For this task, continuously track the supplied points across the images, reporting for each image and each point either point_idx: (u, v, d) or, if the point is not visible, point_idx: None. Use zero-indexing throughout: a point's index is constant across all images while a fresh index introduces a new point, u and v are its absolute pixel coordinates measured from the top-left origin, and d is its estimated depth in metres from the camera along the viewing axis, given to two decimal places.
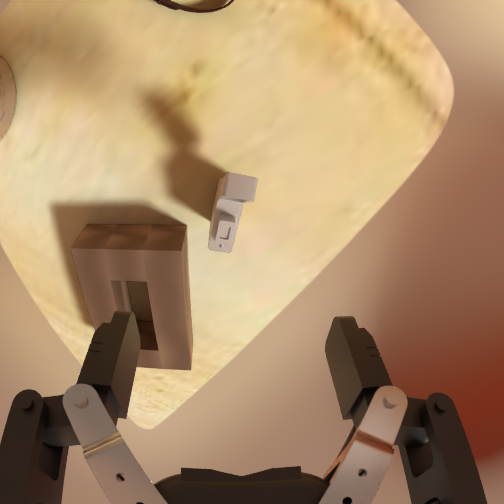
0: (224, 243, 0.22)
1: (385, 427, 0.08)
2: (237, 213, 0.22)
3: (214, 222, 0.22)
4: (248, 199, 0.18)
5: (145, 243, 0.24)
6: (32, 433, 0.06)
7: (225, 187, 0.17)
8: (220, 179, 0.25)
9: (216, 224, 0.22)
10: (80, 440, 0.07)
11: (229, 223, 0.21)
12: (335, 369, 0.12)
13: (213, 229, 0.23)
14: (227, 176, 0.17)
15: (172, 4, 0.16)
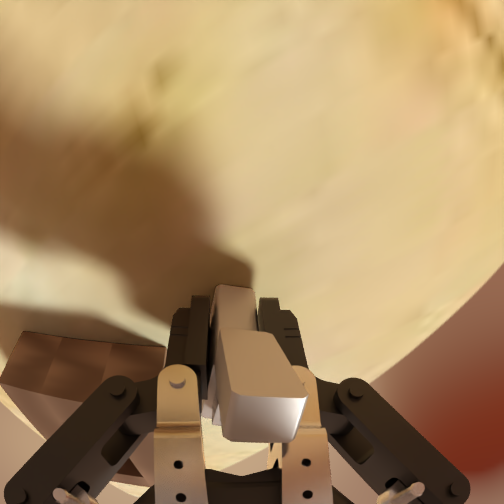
0: None
1: None
2: None
3: (209, 391, 0.11)
4: (284, 440, 0.07)
5: None
6: (110, 420, 0.07)
7: (228, 423, 0.06)
8: (218, 291, 0.14)
9: (213, 393, 0.11)
10: (158, 416, 0.08)
11: None
12: None
13: (208, 398, 0.12)
14: (232, 400, 0.06)
15: None
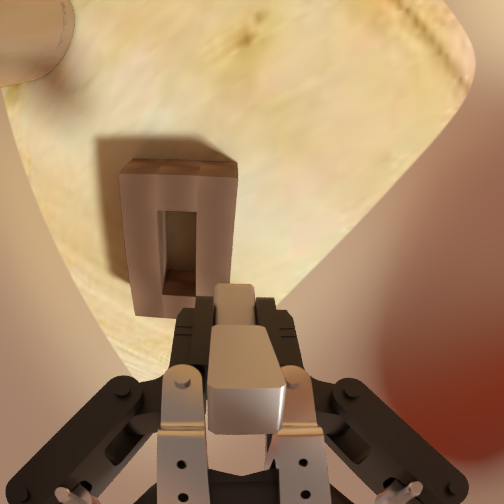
0: None
1: (300, 408, 0.08)
2: None
3: None
4: (268, 431, 0.07)
5: (199, 171, 0.24)
6: (114, 421, 0.07)
7: (210, 416, 0.07)
8: (216, 290, 0.14)
9: None
10: (162, 415, 0.08)
11: None
12: None
13: None
14: (209, 394, 0.07)
15: None
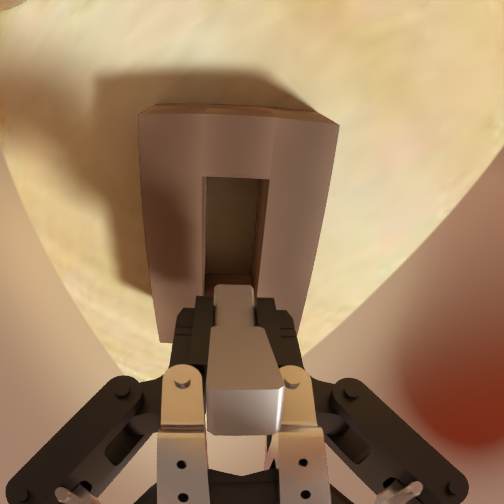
0: None
1: (300, 408, 0.08)
2: None
3: None
4: (267, 432, 0.07)
5: (274, 114, 0.14)
6: (114, 421, 0.07)
7: (209, 417, 0.07)
8: (216, 291, 0.14)
9: None
10: (162, 415, 0.08)
11: None
12: None
13: None
14: (208, 395, 0.07)
15: None
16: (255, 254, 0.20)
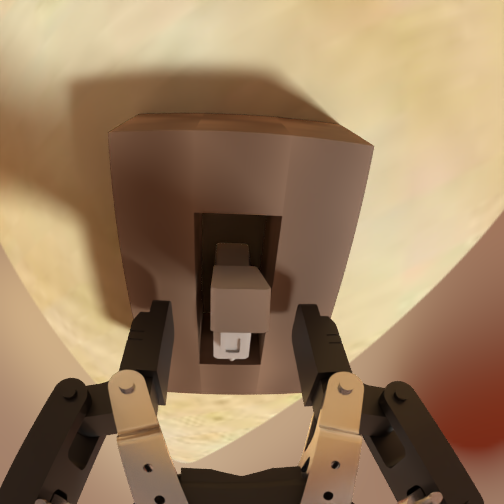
0: (234, 356, 0.14)
1: (347, 414, 0.08)
2: None
3: None
4: (258, 331, 0.09)
5: (288, 130, 0.11)
6: (68, 423, 0.07)
7: (212, 316, 0.09)
8: (217, 248, 0.17)
9: None
10: (117, 424, 0.07)
11: (237, 333, 0.13)
12: (298, 356, 0.12)
13: (215, 335, 0.15)
14: (212, 295, 0.09)
15: None
16: None
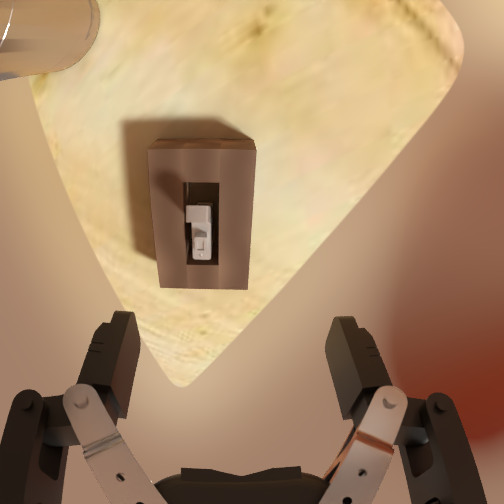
0: (201, 253, 0.30)
1: (385, 427, 0.08)
2: (207, 229, 0.29)
3: (193, 238, 0.30)
4: (203, 222, 0.25)
5: (221, 146, 0.27)
6: (32, 433, 0.06)
7: (186, 216, 0.25)
8: (196, 204, 0.32)
9: None
10: (80, 440, 0.07)
11: (201, 238, 0.29)
12: (335, 369, 0.12)
13: (193, 244, 0.30)
14: (186, 208, 0.25)
15: None
16: None
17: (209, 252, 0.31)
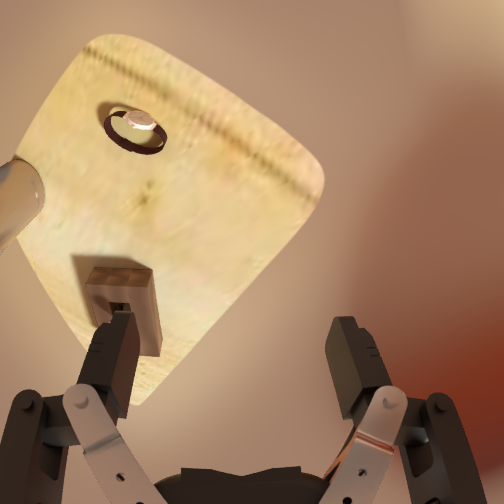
0: None
1: (385, 427, 0.08)
2: None
3: None
4: None
5: (128, 282, 0.42)
6: (32, 433, 0.06)
7: None
8: (124, 304, 0.47)
9: None
10: (80, 440, 0.07)
11: None
12: (335, 369, 0.12)
13: None
14: None
15: (130, 148, 0.34)
16: None
17: None
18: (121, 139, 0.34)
